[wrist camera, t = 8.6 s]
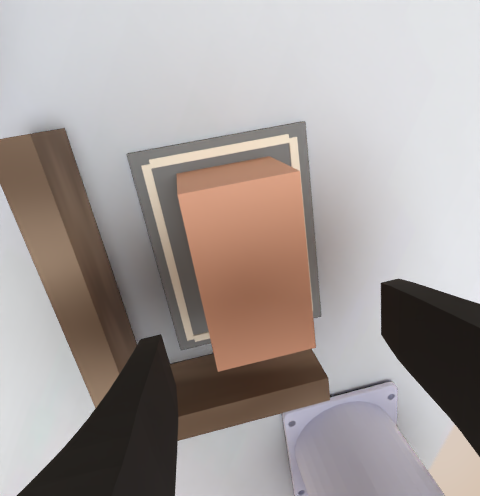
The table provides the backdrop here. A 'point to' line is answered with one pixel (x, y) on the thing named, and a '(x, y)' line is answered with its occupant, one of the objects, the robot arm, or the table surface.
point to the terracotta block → (249, 258)
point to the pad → (171, 221)
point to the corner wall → (111, 306)
